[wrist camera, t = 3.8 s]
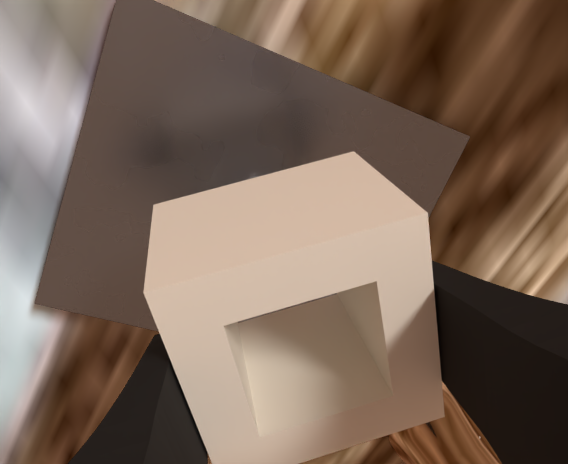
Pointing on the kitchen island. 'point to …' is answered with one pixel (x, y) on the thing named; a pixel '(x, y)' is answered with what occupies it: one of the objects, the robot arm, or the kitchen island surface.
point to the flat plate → (207, 146)
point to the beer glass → (444, 439)
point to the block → (298, 311)
